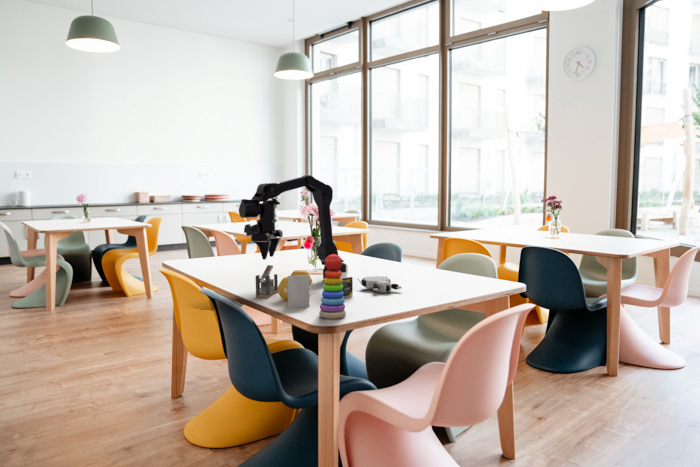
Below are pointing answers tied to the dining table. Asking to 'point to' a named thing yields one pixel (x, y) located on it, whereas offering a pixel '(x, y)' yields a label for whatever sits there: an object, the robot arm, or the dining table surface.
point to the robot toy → (378, 284)
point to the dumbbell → (283, 284)
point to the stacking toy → (332, 290)
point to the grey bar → (266, 273)
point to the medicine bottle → (346, 281)
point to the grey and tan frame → (266, 287)
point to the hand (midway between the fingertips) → (267, 257)
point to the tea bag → (298, 291)
